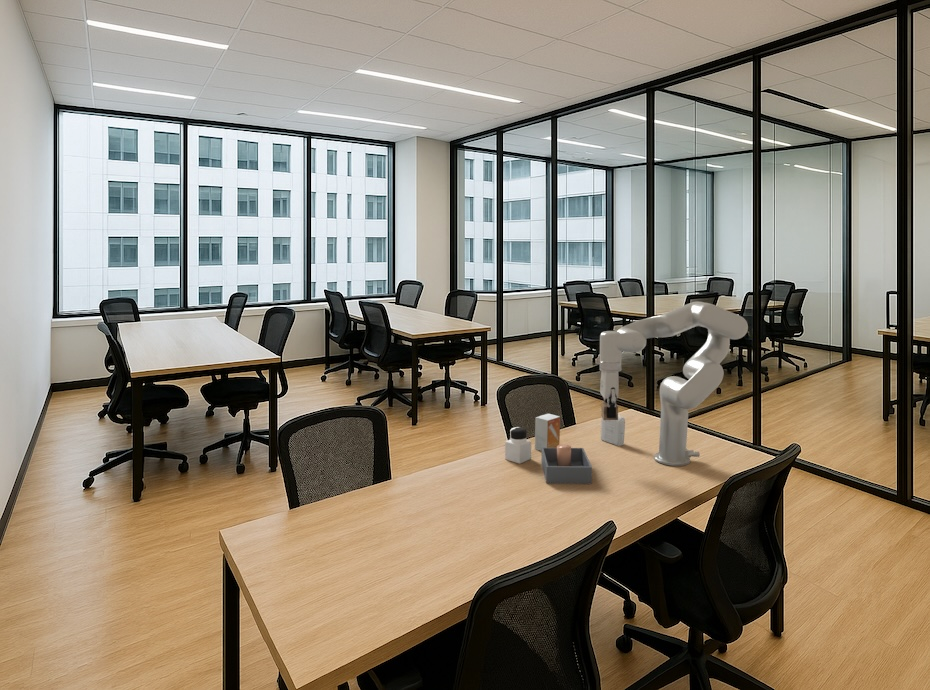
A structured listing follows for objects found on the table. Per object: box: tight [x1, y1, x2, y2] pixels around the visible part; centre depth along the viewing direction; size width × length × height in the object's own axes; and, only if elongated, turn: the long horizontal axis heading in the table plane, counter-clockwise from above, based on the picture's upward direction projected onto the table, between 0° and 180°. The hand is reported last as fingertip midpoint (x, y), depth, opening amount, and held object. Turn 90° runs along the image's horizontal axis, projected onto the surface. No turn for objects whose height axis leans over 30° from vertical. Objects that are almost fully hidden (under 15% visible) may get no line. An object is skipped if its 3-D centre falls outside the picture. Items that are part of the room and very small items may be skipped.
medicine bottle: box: [504, 426, 532, 464], centre depth 226 cm, size 7×7×12 cm
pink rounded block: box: [557, 443, 572, 466], centre depth 218 cm, size 5×5×7 cm
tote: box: [540, 447, 593, 485], centre depth 213 cm, size 15×19×6 cm
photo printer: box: [600, 413, 626, 447], centre depth 244 cm, size 10×4×12 cm, turn 36°
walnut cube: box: [600, 402, 619, 420], centre depth 218 cm, size 5×5×5 cm
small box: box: [534, 413, 561, 452], centre depth 237 cm, size 8×6×13 cm
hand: (609, 414), depth 218 cm, fingers closed on walnut cube, 5 cm apart
